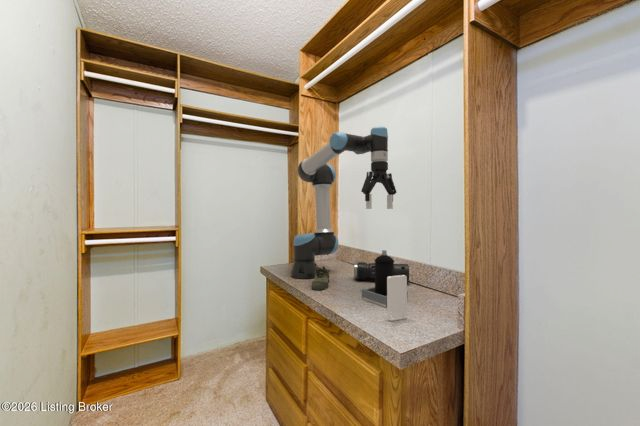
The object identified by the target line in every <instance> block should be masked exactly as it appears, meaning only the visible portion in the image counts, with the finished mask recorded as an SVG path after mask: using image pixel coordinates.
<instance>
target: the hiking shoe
mask: <svg viewBox="0 0 640 426" xmlns="http://www.w3.org/2000/svg"><path fill="white" fill-rule="evenodd" d="M315 265H316V267H317V268H316V269H317V270H316V271H315V277H314V279H313V280H312V282H311V286H310V289H311V290H314V291H315V290H316V291H324V290H326V289H328V288H329V284H330V273H329V272H331V270H330V269H327V268H325V267H326V266H325V265H323V266H322V268H321V267H319V266H318V264H317V263H316V262H315Z"/></svg>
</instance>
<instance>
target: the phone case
mask: <svg viewBox="0 0 640 426" xmlns="http://www.w3.org/2000/svg"><path fill="white" fill-rule="evenodd" d="M407 289H408V283H407V277H406V276H405V275H398V276H389V277H387V307H386V310H387V312H386V313H387V315H386V316H387V320H389V321H390V322H393V321H397V320H398V321H399V320H404V319H407V317H408V301H407V292H408V290H407Z"/></svg>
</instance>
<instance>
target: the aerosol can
mask: <svg viewBox="0 0 640 426" xmlns="http://www.w3.org/2000/svg"><path fill="white" fill-rule="evenodd" d="M387 252H388V250H386V249H384V250H381V255H379V256H377V257H376V258H375V259H374V263H375V281H374V287H375V293H377V294H380V295H384V296H387V277H389V276H394V264H395V263H394V262H395V260H394V259H393V258H392V257H391V256H389V255H388V254H387Z"/></svg>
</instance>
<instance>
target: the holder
mask: <svg viewBox="0 0 640 426" xmlns="http://www.w3.org/2000/svg"><path fill="white" fill-rule="evenodd" d="M408 294H409V292H408V291H407V302H409V301H408V300H409V298H408ZM361 300H364V301H366V302H370V303H372V304H375V305H377V306H381V307H382V308H386V309H387V296H384V295H380V294H377V293H375V286H373V287H369V288H364V289H361Z"/></svg>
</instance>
